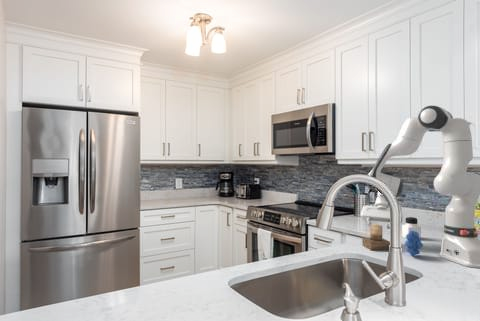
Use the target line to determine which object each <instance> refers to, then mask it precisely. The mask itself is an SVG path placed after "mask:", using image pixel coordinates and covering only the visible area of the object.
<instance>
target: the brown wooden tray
mask: <svg viewBox="0 0 480 321" xmlns="http://www.w3.org/2000/svg"><path fill="white" fill-rule="evenodd" d="M361 239H362V241H361V242H362V246H363V247H364V248H366V249H368V250H369V251H381V252H382V251H383V252H385V251H386V252H387V251H388V250H389V245H390V242H391V241H389V240H387V239H385V238H383V237H382V241H373V240H370V237H362V238H361Z"/></svg>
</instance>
